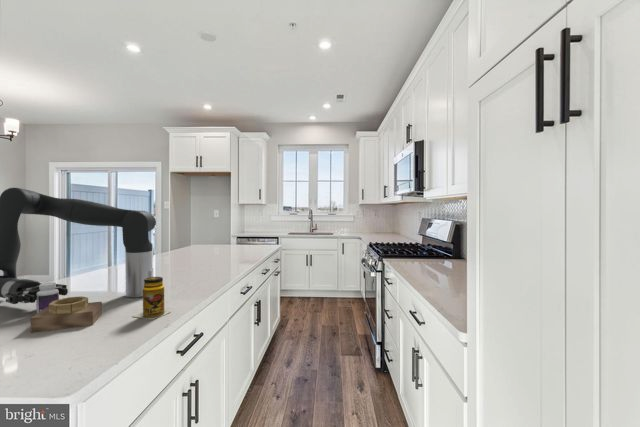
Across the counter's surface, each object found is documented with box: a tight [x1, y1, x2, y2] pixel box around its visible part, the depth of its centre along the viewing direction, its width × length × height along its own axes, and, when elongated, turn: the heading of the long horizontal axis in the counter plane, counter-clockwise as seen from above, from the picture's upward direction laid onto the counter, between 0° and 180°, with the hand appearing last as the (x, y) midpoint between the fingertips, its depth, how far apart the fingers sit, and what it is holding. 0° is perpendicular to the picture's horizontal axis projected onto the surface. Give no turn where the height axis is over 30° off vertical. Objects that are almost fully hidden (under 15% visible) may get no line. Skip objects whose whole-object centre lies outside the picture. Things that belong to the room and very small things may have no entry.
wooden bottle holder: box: [30, 295, 103, 333], centre depth 90 cm, size 14×10×6 cm
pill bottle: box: [35, 281, 60, 314], centre depth 97 cm, size 5×5×10 cm
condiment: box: [132, 276, 170, 321], centre depth 97 cm, size 7×8×12 cm
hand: (50, 295), depth 97 cm, fingers open, 8 cm apart
